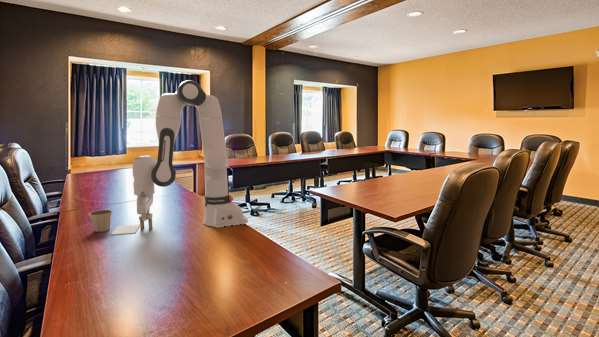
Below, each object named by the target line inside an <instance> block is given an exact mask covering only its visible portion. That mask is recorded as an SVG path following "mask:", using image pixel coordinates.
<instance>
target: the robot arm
mask: <svg viewBox="0 0 599 337" xmlns="http://www.w3.org/2000/svg"><path fill="white" fill-rule="evenodd" d="M187 107H195V108H196V109H197V113H198V122H199V129H200V136H201V146H202V153H203V161H204V162H203V165H204V187H205V189H204V191H205V192H204V193H205V195H204V202H203V203H204V207H205V208H204V218H203V221H202V224H203V225H205V226H209V227H214V228H217V229H218V228H224V226H226V227H232V226H231V225H233V226H239V225H240V224H241V225H245V224H248V222H249V219H248V217H247V216H246V215H245V214H244V212H243V209H242V207H241V206H239V205H238V204H236V203H234V202H233V200H234V197H233V196H232V195H231V194H229V192H228V190H229V189H228V184H229V183H228V170H227V164H228V159H229V158H228V151H227V150H228V148H227V144H226V138H225V131H224V129H225V128H224V122H223V114H222V109H221V105H220V102H219V99H218V97H216V96H215V95H212V94H207V93H206V92H205V90H203V88H202V87H201V86H200V84H199V83H197V82H196V81H194V80H191V79H190V80H189V79H186V80H184V81H182V82H181V83H179V85H178V86H177V90H176V91H175V93H170V92H167V93H163V94H161V95H160V97H159V100H158V103H157V107H156V112H155V130H156V135H157V139H158V151H157V158H154V157H153V156H151V155H150V154H148V155H147V154H145V155H140V156H137V157H135V158H134V159H133V161H132V177H133V184H132V185H133V195H134V196H136V213H137V214H136V215H142V220H143V221H144V222H146V221H147V220H148V219H147V215H146V214H150V210H151V207H152V205H153V203H154V194H155V192H156V191H155V185H156V186H158V187H169V186H171V185H172V184H173V183H174V182H175V180H176V178H177V177H176V171H175V168H174V166H173V165H174V164H173V158H174V146H175V142H176V139H177V138H178V134H179V131H180V128H181V122H182V114H183V109H184V108H187ZM241 225H240V226H241Z"/></svg>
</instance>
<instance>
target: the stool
mask: <svg viewBox="0 0 599 337" xmlns="http://www.w3.org/2000/svg"><path fill="white" fill-rule="evenodd" d="M146 215H147V220H148V221H147V222H148V231H152V228H153V213H152V212H151V213H150V212H149V214H146ZM138 220H139V225H140V227H139V228H140V232H143V231H144V229H145V221H143V220H142V215H141V214H139V217H138Z"/></svg>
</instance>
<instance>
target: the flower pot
mask: <svg viewBox="0 0 599 337" xmlns="http://www.w3.org/2000/svg"><path fill="white" fill-rule="evenodd" d="M112 213H113V210H111V209H99V210H95V211H91V212H89V213H88V215H89V216H90V218H91V221H92V225H93V230H94V232H96V233H99V232H107V231H109V230H110V229H111V216H112Z"/></svg>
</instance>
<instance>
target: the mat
mask: <svg viewBox="0 0 599 337" xmlns="http://www.w3.org/2000/svg"><path fill="white" fill-rule="evenodd" d="M139 228H140V224H132V225H131V224H130V225H119V226H117V227H115V229H114V230H113V231H112V233H111V234H110V235H111V236H118V235H132V234H136V233H137V231H138V230H139Z"/></svg>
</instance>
